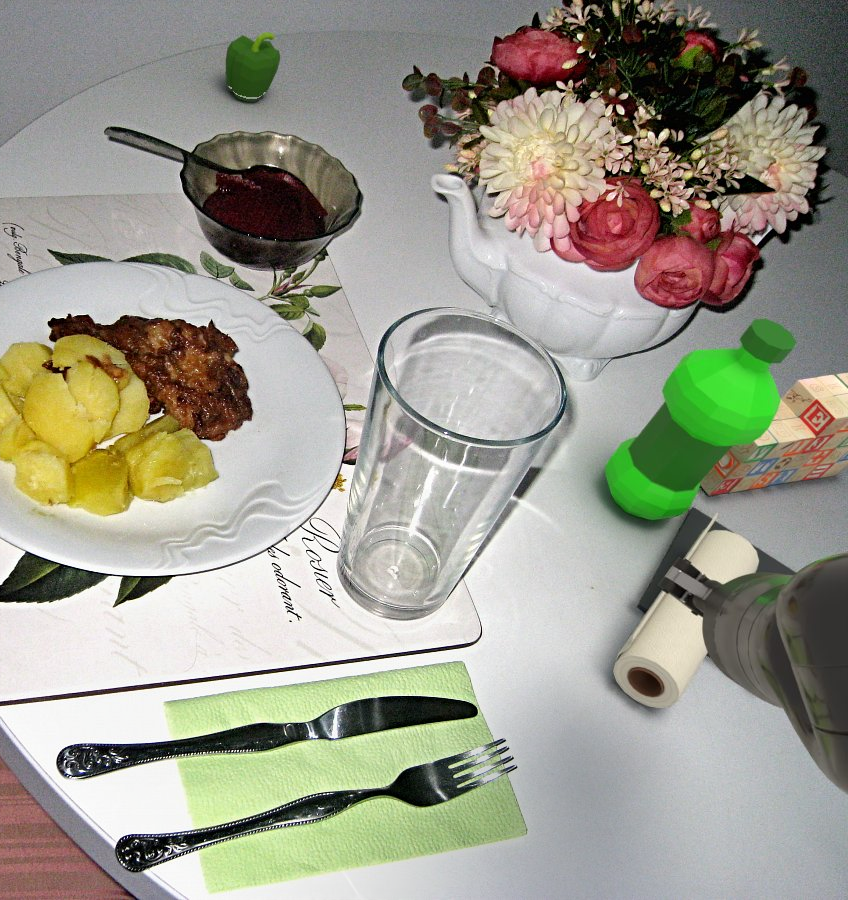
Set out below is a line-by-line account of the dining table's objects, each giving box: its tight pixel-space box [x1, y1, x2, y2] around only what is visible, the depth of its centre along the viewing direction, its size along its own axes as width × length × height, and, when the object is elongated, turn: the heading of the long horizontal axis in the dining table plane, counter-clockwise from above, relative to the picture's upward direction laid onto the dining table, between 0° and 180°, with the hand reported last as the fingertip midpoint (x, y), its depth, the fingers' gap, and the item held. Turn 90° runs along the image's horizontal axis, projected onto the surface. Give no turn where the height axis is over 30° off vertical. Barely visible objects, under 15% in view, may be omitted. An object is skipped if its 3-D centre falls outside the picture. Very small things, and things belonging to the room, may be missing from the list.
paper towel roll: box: [612, 512, 759, 709], centre depth 87 cm, size 7×6×21 cm
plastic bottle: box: [604, 318, 798, 521], centre depth 92 cm, size 10×10×25 cm
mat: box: [637, 506, 797, 658], centre depth 94 cm, size 13×18×1 cm
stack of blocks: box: [700, 372, 848, 497], centre depth 104 cm, size 21×6×12 cm, turn 108°
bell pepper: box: [225, 32, 281, 103], centre depth 140 cm, size 8×8×10 cm
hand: (724, 616), depth 69 cm, fingers closed
